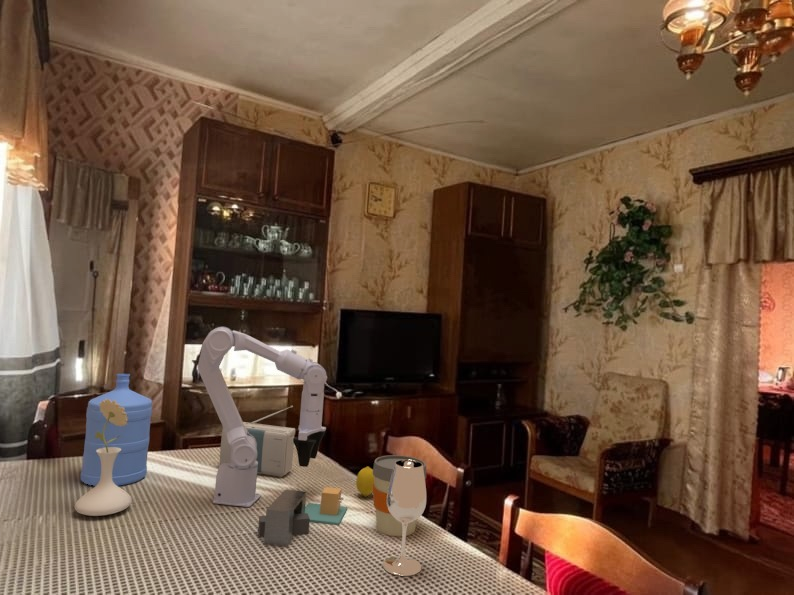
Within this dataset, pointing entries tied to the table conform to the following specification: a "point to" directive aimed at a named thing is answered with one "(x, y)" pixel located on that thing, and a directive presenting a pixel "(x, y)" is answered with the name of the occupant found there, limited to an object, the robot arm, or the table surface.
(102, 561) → the table surface
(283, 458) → the stereo radio cassette player
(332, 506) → the plug
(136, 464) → the water jug
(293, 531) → the push rod
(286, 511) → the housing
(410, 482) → the wineglass
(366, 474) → the lemon
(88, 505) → the flower in vase
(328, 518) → the mat
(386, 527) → the reusable coffee cup
